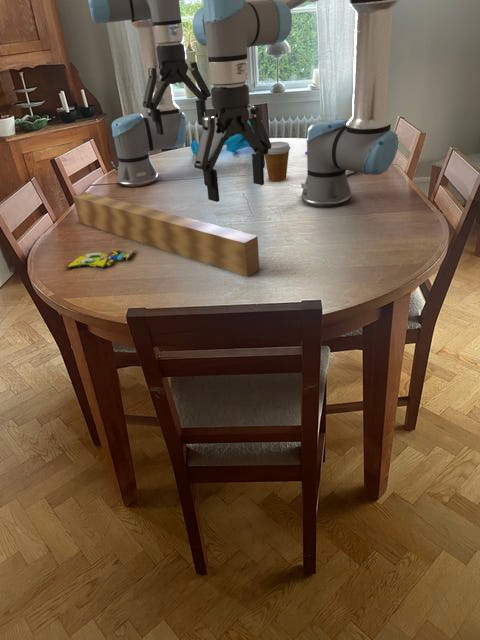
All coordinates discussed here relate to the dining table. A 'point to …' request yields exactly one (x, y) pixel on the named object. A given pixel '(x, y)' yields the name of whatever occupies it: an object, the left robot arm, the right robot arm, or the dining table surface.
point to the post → (171, 233)
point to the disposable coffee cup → (277, 161)
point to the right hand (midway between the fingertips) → (237, 192)
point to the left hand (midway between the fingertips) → (181, 129)
